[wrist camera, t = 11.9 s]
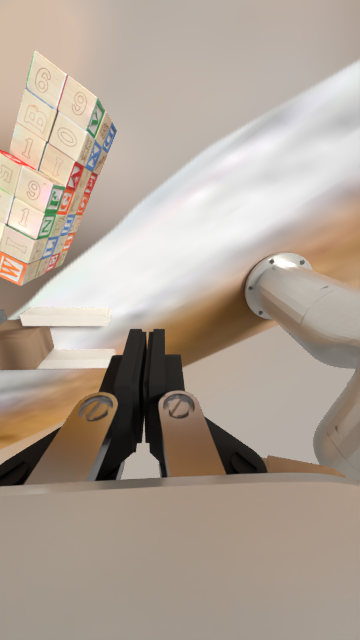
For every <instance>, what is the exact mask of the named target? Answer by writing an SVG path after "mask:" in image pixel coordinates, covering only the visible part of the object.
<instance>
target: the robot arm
mask: <svg viewBox="0 0 360 640" xmlns="http://www.w3.org/2000/svg"><path fill="white" fill-rule="evenodd" d="M269 261H270V262H269ZM250 286H251V287H250ZM249 287H250V288H249ZM245 299H246V302H247V304H248V306H249V308H250V309H251V310H252V311H253V312H254V313H255V314H256V315H258V316H259V317H262V318H264V319H269V320H274V321H275V322H277V323H278V324H279V325H280V326H281V327H282V328H283V329H284V330H285V331H286V332H287V333H288V334H289V335H290V336H291V337H292V338H293V339H295V340H296V342H298V343H299V344H300V345H301V346H302V347H303V348H304V349H305V350H306V351H307V352H308V353H310V355H312V356H313V357H314V358H315V359H317V360H319V361H320V362H322V363H324V364H327V365H330V366H333V367H339V368H350V369H356V370H355V373H354V374H353V376H352V378H351V379H350V381H349V382H348V383H347V386H346V388H345V389H344V390H343V392H342V393H341V394H340V396H339V397H338V398H337V400H336V401H335V402H334V404H333V405H332V406H331V408H330V409H329V411H328V412H327V413H326V415H325V416H324V417H323V419H322V420H321V422H320V423H319V425H318V427H317V429H316V431H315V434H314V438H313V447H314V452H315V455H316V458H317V460H318V462H319V464H320V465H318V464H312V463H307V462H302V461H297V460H291V459H286V458H281V457H275V456H269V455H268V457H267V458H262V457H260V456H259V455H258V454H257V453H256V452H255V451H254V450H252V449H251V448H249V447H248V446H246V445H245V444H243V443H242V442H241V441H239V440H238V439H236V438H235V437H233V436H232V435H230V434H229V433H228V432H226V431H225V430H223V429H222V428H220V427H219V426H217V425H216V424H214V423H213V422H211V421H210V420H209V419H207V418H206V417H204V415H203V412H202V410H201V408H200V405H199V402H198V400H197V399H196V398H195V397H194V396H193V395H192V394H190V393H188V392H185V388H184V380H183V372H182V363H181V356H180V355H165V329H154V332H149V339H148V347H147V341H146V332H142V329H130V332H129V335H128V339H127V342H126V346H125V349H124V352H123V355H113V356H112V357H111V360H110V362H109V365H108V368H107V371H106V373H105V376H104V379H103V382H102V384H101V387H100V390H99V392H98V393H93V394H90V395H88V396H86V397H84V398H83V399H82V400H80V401H79V402H78V403H77V405H76V406H75V407H74V409H73V410H72V412H71V413H70V415H69V416H68V418H67V419H66V421H65V423H64V424H63V426H61V427H60V428H58V429H57V430H55V431H53V432H52V433H50V434H48V435H47V436H45V437H44V438H42V439H40V440H39V441H37V442H36V443H34V444H32V445H31V446H29V447H27V448H26V449H24V450H23V451H21V452H19V453H18V454H16V455H15V456H13V457H11V458H10V459H8V460H6V461H5V462H4V463H2V464H1V465H0V640H360V288H358V287H355V286H353V285H350V284H347V283H345V282H342V281H339V280H337V279H334V278H331V277H329V276H326V275H323V274H321V273H318V272H315V271H313V268H312V266H311V265H310V263H309V262H308V261H307V260H306V259H305V258H304V257H302V256H300V255H297V254H294V253H290V252H281V253H276V254H273V255H270V256H268V257H267V258H265V259H263V260H262V261H261V262H260V263H258V264H257V265H256V266H255V268H254V269H253V270H252V271H251V273H250V275H249V277H248V279H247V281H246V285H245ZM144 419H145V439H146V443H149V444H150V453H151V454H152V455H153V456H154V457H155V458H156V459H157V460H158V461H159V469H160V477H161V478H148V479H128V480H120V479H121V475H122V472H123V469H124V462H125V461H124V460H125V459H126V458H127V457H129V456H130V455H131V454H132V453H133V452H136V446H137V443H141V442H142V434H143V424H144Z"/></svg>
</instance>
